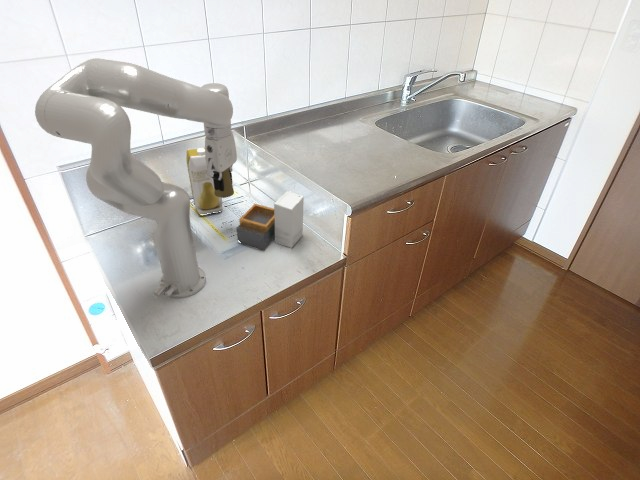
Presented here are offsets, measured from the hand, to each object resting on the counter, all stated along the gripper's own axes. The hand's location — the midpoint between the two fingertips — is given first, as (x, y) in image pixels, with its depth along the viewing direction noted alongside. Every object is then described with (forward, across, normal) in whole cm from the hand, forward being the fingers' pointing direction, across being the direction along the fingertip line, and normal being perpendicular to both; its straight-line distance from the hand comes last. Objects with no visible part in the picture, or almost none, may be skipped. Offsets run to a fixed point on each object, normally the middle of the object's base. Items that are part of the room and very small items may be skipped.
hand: (223, 186), depth 128 cm
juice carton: (+16, +7, +12) cm, 22 cm away
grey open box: (+16, +2, -11) cm, 20 cm away
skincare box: (+17, +4, -21) cm, 27 cm away
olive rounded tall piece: (+3, 0, 0) cm, 3 cm away
